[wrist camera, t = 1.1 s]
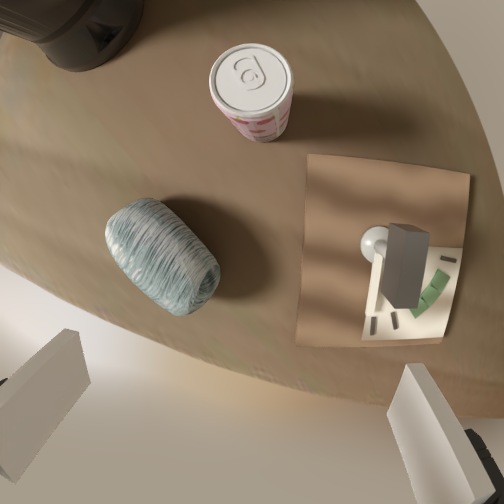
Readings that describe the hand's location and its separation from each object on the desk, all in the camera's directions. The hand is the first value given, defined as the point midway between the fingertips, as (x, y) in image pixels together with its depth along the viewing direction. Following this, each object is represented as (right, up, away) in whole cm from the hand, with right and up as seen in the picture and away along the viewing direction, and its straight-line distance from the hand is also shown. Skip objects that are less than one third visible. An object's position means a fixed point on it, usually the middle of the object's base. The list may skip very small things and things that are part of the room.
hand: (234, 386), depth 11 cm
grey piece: (+14, +4, +22) cm, 26 cm away
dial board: (+16, +4, +24) cm, 29 cm away
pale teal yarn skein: (-9, +6, +26) cm, 28 cm away
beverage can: (+2, +20, +21) cm, 29 cm away
